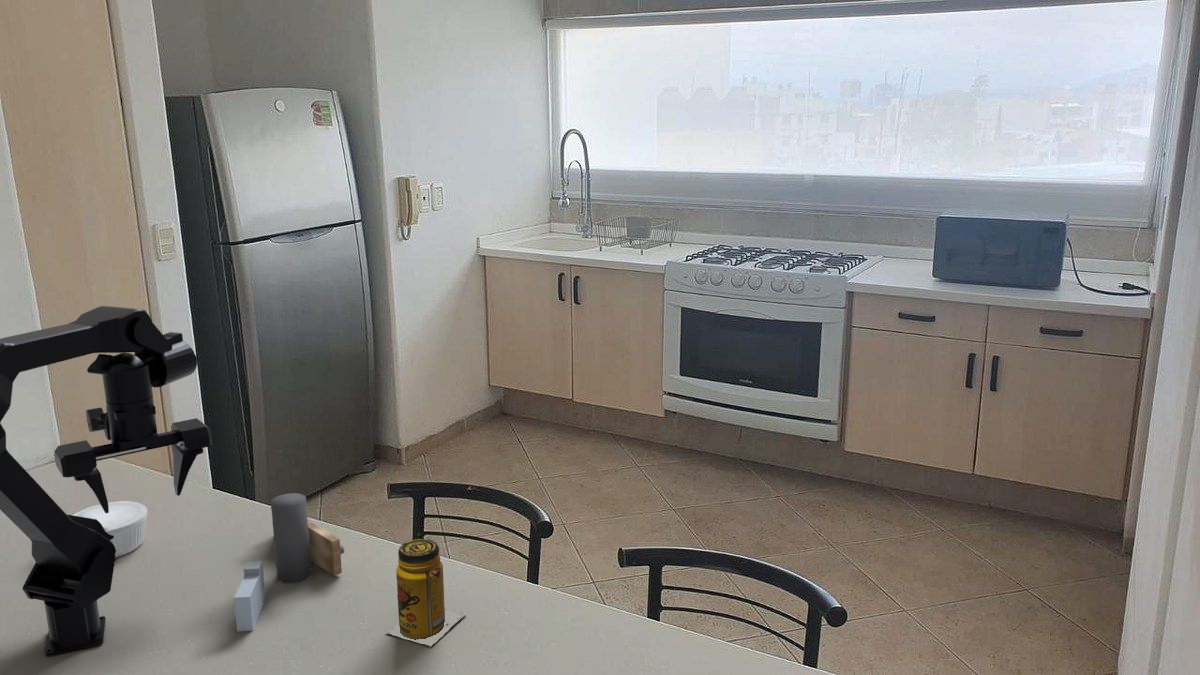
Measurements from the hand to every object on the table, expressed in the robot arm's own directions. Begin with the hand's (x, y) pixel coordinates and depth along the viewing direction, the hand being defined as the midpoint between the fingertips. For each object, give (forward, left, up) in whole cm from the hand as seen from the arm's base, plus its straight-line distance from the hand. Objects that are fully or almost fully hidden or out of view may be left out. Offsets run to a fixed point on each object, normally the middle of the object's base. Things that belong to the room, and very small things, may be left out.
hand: (142, 503), depth 125 cm
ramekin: (+16, +6, -13) cm, 22 cm away
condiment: (-26, -33, -13) cm, 44 cm away
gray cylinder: (-5, -19, -13) cm, 23 cm away
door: (-2, -22, -12) cm, 26 cm away
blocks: (-4, -15, -13) cm, 20 cm away
